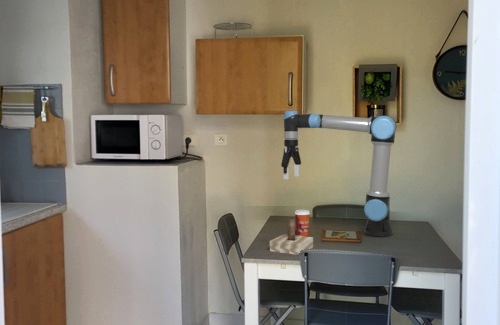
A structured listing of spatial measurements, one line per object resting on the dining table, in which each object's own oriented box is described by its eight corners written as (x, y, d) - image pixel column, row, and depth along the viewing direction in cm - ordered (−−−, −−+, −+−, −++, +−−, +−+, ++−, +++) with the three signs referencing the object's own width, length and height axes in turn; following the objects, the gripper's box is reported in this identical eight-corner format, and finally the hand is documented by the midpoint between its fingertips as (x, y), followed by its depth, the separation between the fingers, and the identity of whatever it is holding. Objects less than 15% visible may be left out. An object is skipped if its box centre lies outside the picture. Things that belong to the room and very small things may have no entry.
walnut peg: (296, 248, 246) (295, 218, 245) (293, 250, 243) (292, 220, 242) (289, 247, 248) (289, 218, 247) (286, 249, 245) (286, 219, 243)
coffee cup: (300, 241, 261) (300, 212, 260) (291, 237, 268) (291, 210, 267) (313, 239, 265) (313, 211, 263) (304, 235, 272) (304, 208, 271)
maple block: (313, 247, 248) (313, 237, 248) (299, 255, 235) (299, 244, 234) (284, 243, 256) (284, 234, 256) (269, 251, 243) (269, 241, 242)
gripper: (294, 138, 284) (295, 174, 286) (274, 140, 262) (275, 180, 264) (306, 138, 280) (307, 175, 282) (287, 140, 259) (287, 180, 261)
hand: (291, 177), depth 273 cm, fingers open, 13 cm apart
